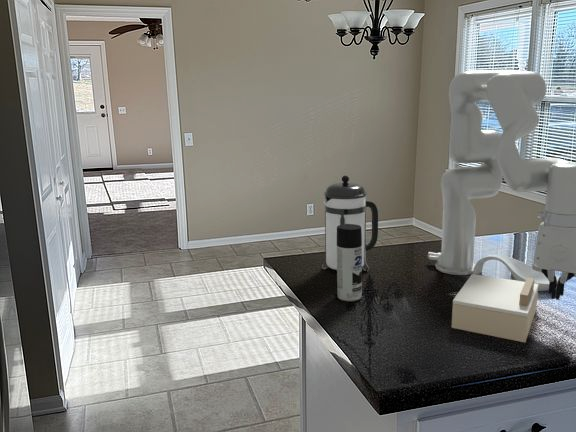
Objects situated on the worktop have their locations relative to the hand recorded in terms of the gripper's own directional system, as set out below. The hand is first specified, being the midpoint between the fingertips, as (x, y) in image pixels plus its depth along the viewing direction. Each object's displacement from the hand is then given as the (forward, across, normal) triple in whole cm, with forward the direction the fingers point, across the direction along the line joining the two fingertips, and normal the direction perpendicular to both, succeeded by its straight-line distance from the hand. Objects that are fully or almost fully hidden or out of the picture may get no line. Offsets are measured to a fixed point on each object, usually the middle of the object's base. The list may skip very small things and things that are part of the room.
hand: (555, 297), depth 120 cm
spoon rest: (+8, -12, +28) cm, 31 cm away
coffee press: (+8, -60, +17) cm, 62 cm away
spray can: (+8, -50, -4) cm, 50 cm away
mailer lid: (+2, -13, 0) cm, 13 cm away
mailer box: (+8, -12, 0) cm, 15 cm away
